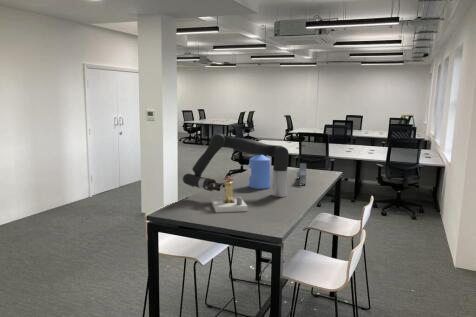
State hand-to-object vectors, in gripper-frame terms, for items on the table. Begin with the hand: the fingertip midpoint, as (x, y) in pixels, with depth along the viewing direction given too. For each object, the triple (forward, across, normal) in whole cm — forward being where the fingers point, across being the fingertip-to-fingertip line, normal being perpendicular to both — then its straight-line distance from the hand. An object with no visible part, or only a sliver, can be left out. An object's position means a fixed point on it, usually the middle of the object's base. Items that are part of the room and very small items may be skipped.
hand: (225, 188), depth 229 cm
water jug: (-21, +55, +11) cm, 60 cm away
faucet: (-10, +94, +11) cm, 95 cm away
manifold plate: (+3, 0, +11) cm, 11 cm away
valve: (+3, 0, +11) cm, 11 cm away
